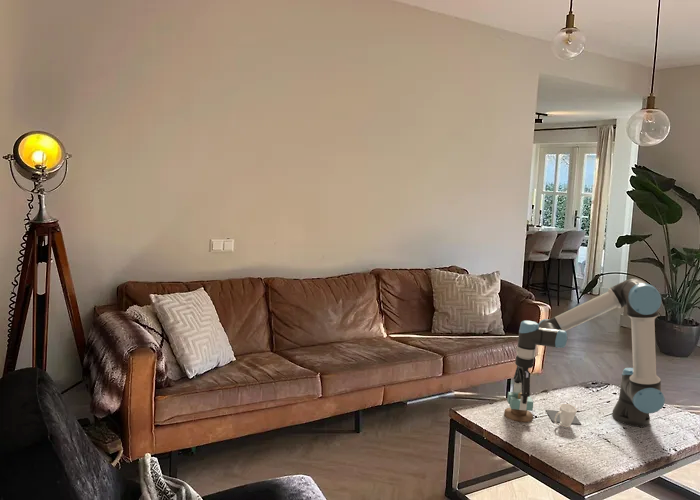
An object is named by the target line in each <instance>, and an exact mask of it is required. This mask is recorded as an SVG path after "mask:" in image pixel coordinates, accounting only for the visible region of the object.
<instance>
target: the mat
mask: <svg viewBox="0 0 700 500" xmlns="http://www.w3.org/2000/svg"><path fill="white" fill-rule="evenodd" d="M559 411H560V410H553V409H545V412H546V414H547V416H548V417H549V419H550V421H551V422H552V423H555V421H554V419H555V416H556V414H557V413H558V412H559ZM556 422H557V423H558V424H560V422H561V421H560V414H559V415H558V416H557V419H556ZM555 424H556V423H555ZM571 425H576V426H577V425H578V426H582V423H581V421H580V420H579V419H578V417H577V416H576V415H575V417H574V419H573V421H572V423H571Z"/></svg>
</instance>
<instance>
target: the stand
mask: <svg viewBox="0 0 700 500" xmlns="http://www.w3.org/2000/svg"><path fill="white" fill-rule="evenodd" d="M520 394H522V392H520V393H518V399H521V396H520ZM503 413H504V414H503V415H504V417H505V418H507V419H508V420H510V421H513V422H516V423H530V422H532V421H533V419H534V415H533V413H532V412H531V411H529V410H526V411H525V410H518V409H511V407H510V406H509V407H507V408H505V409H504V412H503Z"/></svg>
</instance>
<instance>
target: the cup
mask: <svg viewBox="0 0 700 500" xmlns="http://www.w3.org/2000/svg"><path fill="white" fill-rule="evenodd" d="M558 411H559V412H558V413H557V414H556V416H555V419H554V421H555V424H557V425H558V426H559V427H563V428H570V427H571V426H572V424H571V423H572V421H573V419H574V417H575V416H576V414H577V411H578V409H577V408H576V406H574V405H572V404H569V403H561V404H560V405H559V410H558ZM559 414H560V421H561V422H560V423H557V422H556V419H557V416H558V415H559Z"/></svg>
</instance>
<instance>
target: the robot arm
mask: <svg viewBox="0 0 700 500" xmlns="http://www.w3.org/2000/svg"><path fill="white" fill-rule="evenodd" d="M661 305H662V295H661V294H660V292H659V291H658V289H657V288H656V287H655V286H654V285H652V284H649V283H647V282H646V281H645V280H643V279H640V278H630V279H626V280H624V281H622V282H620V283H617V284H616V285H613V286H610V287H609V288H608V290H607V291H606V292H604V293H603V294H601V295H600V294H599V295H597V296H596V297H594V298H591V299H590V300H588V301H585V302H583V303H581V304H579V305H577V306H575V307H573V308H571V309H569V310H567V311H565V312H562V313H560V314H558V315H556V316H553V317H552V318H549V319H548V318H544V319H541V320H540V321H539V322H538V323H537V321H532V320H522V321H521V322H520V326H519V330H518V337H517V348H515V351H516V356H515V362H514V364H515V366H516V369H515V373H514V375H513V381H514V385H513V391H512V392H514V393H522V394H520V396H521V400H520V408H519V410H525V411H526V408H527V400H528V397H531V393H530V392H531V373H530V370H529V369H531V368H533V367H534V363H535V358H536V357H535V355H536V348H537V346H543V347H552V348H556V349H559V348H560V349H561V348H562V349H564V348H565V347H566V346H567V342H568V333H567V331H569V330H570V329H573V328H575V327H577V326H579V325H582V324H583V323H586V322H588V321H590V320H592V319H595V318H597V317H599V316H601V315H603V314H605V313H607V312H610V311H612V310H615V309H616V308H618V309H622V308H624V307H626V315H627V317H628V318H629V319H630V322H631V325H630V326H631V328H630V329H631V347H632V348H631V349H632V350H631V351H632V367H625V368H624V369H623V370H622V373H621V381H620V388H619V394H618V400H617V402H616V404H615V405H614V407H613V409H612V412H611V414H612V415H611V416H612V417H613V419H615V420H617V422H620V423H622V424H625V425H628V426H632V427H648V426H649V425H650V421H651V415H650V414H655V413H658V412H659V411H660V410H661V409H663V408H664V406H665V402H666V398H665V395H664V393H663V392H662V383H661V381H662V380H661V378H660V377H659V376H658V375H657V360H656V358H657V357H656V354H657V353H656V332H655V331H656V327H655V320H656V318H657V317H659V309H660V307H661Z"/></svg>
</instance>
